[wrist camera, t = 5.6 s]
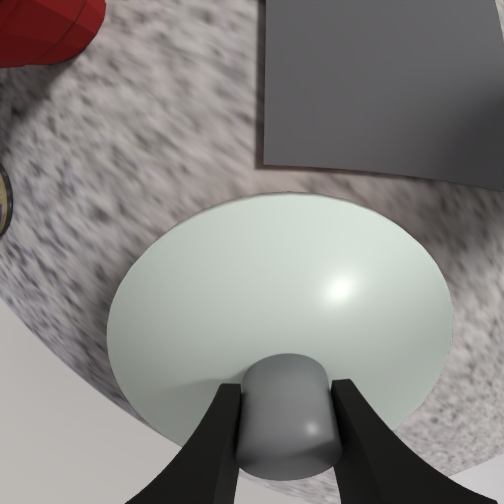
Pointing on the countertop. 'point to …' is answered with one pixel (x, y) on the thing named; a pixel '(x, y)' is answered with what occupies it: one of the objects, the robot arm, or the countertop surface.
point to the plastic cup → (46, 30)
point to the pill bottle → (5, 200)
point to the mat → (386, 88)
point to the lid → (280, 324)
